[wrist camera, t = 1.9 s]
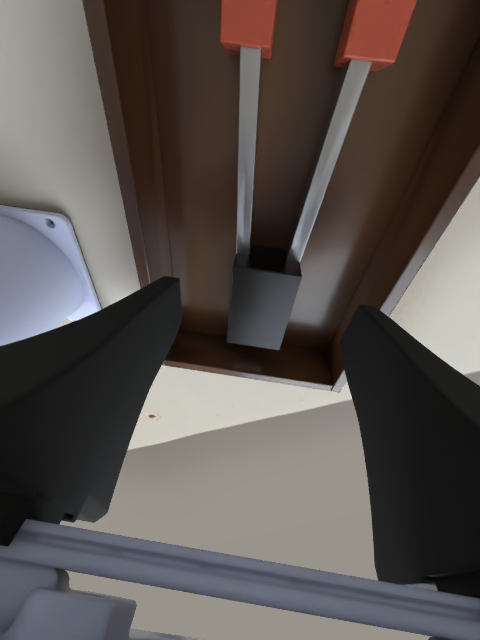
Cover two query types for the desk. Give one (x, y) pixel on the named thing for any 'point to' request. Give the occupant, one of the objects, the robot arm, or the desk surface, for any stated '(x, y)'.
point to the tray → (285, 165)
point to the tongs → (355, 62)
